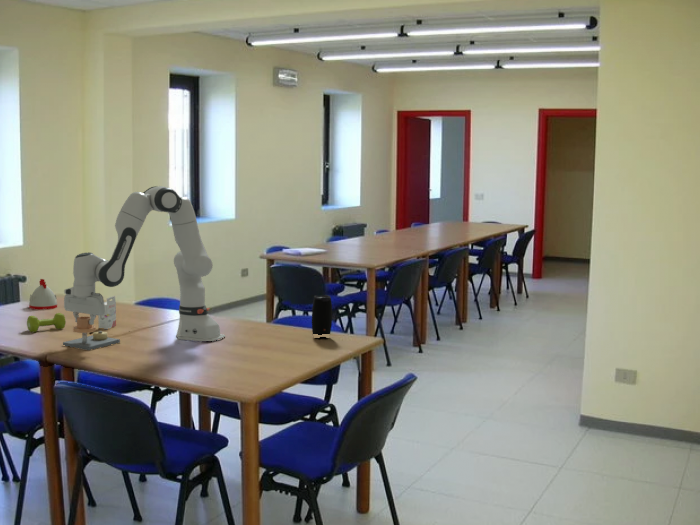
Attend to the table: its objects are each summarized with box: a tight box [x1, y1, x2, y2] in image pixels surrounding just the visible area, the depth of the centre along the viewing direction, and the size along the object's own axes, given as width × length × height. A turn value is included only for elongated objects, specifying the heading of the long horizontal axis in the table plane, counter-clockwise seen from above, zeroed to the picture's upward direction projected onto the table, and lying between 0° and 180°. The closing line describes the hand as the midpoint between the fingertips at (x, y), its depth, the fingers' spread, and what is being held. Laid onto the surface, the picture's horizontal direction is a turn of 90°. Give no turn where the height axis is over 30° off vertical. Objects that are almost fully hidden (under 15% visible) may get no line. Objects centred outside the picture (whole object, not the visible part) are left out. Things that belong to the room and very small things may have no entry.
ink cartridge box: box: [97, 295, 117, 330], centre depth 387 cm, size 9×5×15 cm, turn 168°
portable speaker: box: [311, 294, 333, 335], centre depth 379 cm, size 9×9×20 cm
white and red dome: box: [28, 278, 58, 311], centre depth 432 cm, size 14×14×15 cm
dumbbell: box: [26, 312, 67, 333], centre depth 378 cm, size 16×8×7 cm, turn 131°
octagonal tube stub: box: [72, 315, 97, 334], centre depth 348 cm, size 9×9×6 cm
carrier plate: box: [62, 330, 121, 351], centre depth 352 cm, size 15×18×6 cm
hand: (84, 323), depth 348 cm, fingers closed on octagonal tube stub, 6 cm apart
